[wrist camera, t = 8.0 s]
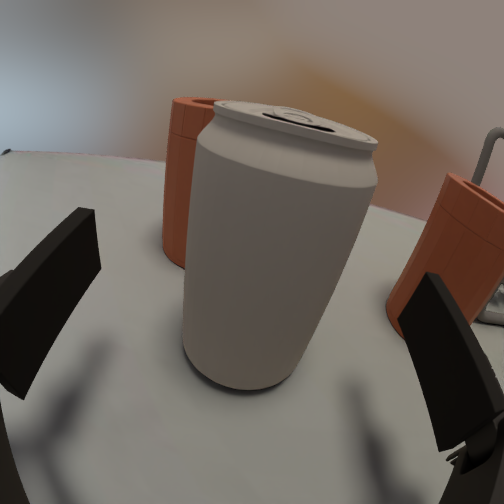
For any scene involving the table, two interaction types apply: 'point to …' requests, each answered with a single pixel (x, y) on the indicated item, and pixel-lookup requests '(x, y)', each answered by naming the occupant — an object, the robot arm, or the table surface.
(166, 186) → the jar
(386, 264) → the table surface
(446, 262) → the jar
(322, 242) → the beverage can
